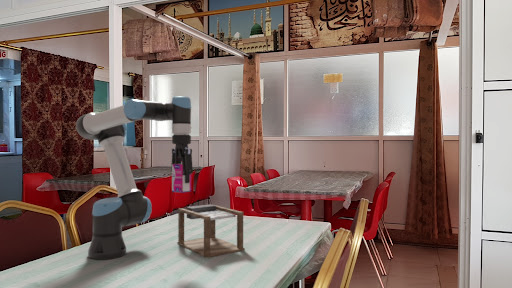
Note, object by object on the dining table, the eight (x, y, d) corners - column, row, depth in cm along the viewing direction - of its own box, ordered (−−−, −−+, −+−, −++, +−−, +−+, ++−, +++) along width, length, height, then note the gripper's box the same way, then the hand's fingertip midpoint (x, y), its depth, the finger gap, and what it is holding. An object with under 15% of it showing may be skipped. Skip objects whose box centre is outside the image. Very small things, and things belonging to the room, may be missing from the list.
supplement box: (171, 192, 161) (171, 164, 161) (180, 190, 166) (180, 163, 166) (182, 193, 158) (182, 164, 158) (191, 191, 163) (191, 163, 163)
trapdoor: (184, 217, 184) (184, 207, 184) (212, 214, 193) (212, 204, 193) (207, 225, 167) (207, 213, 167) (236, 221, 176) (236, 210, 176)
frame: (177, 243, 185) (177, 208, 185) (212, 237, 197) (212, 204, 197) (207, 257, 163) (207, 217, 163) (244, 250, 175) (244, 212, 175)
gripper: (201, 134, 156) (201, 192, 156) (178, 134, 172) (178, 187, 172) (184, 134, 151) (184, 193, 152) (162, 134, 168) (162, 188, 168)
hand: (181, 190), depth 162 cm, fingers closed on supplement box, 7 cm apart
